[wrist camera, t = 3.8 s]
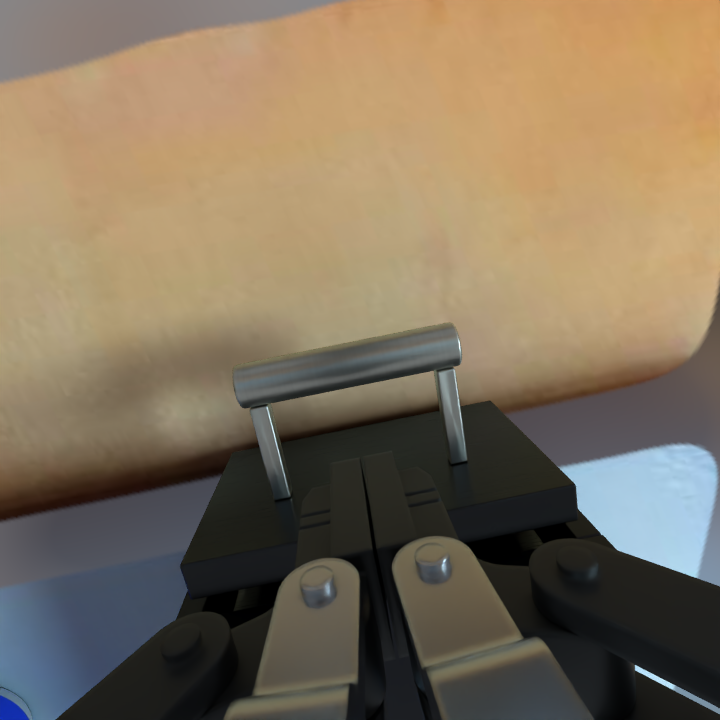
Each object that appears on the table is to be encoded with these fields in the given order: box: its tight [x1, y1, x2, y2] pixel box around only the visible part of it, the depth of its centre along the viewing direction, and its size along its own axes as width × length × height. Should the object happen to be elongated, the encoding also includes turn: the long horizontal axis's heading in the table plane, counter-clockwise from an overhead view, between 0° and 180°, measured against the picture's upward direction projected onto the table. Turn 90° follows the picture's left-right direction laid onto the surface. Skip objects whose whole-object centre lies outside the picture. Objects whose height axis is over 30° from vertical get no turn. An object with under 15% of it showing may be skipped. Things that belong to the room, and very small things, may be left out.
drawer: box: [180, 322, 578, 611], centre depth 18 cm, size 17×11×7 cm, turn 11°
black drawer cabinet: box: [176, 510, 616, 720], centre depth 19 cm, size 14×13×9 cm
